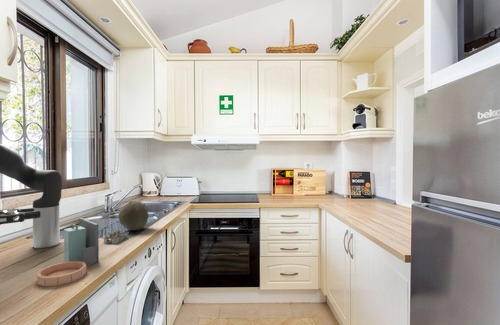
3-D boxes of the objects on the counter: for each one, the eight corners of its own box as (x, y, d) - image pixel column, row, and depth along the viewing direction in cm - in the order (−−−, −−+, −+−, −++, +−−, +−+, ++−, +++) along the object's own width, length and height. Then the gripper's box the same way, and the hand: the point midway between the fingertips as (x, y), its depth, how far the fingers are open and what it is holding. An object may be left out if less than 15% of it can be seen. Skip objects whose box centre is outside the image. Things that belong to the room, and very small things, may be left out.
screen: (83, 266, 91) (83, 227, 91) (67, 255, 102) (67, 220, 102) (98, 262, 95) (98, 224, 95) (82, 251, 106) (81, 217, 106)
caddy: (68, 264, 93) (68, 227, 93) (64, 261, 96) (64, 224, 96) (85, 260, 97) (85, 224, 97) (80, 256, 100) (80, 222, 100)
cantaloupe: (137, 226, 147) (137, 200, 147) (153, 229, 140) (153, 202, 140) (113, 231, 135) (113, 203, 135) (129, 236, 128) (129, 205, 128)
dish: (51, 269, 88) (51, 262, 88) (92, 267, 90) (92, 260, 90) (27, 287, 76) (27, 279, 76) (74, 283, 78) (74, 275, 78)
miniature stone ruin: (115, 244, 115) (115, 235, 115) (100, 244, 117) (100, 235, 116) (130, 237, 126) (130, 229, 126) (116, 237, 127) (116, 228, 127)
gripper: (-32, 210, 71) (42, 203, 83) (-36, 205, 79) (32, 199, 92) (-32, 238, 70) (42, 226, 83) (-36, 229, 79) (32, 220, 92)
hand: (37, 212), depth 88 cm, fingers open, 8 cm apart
